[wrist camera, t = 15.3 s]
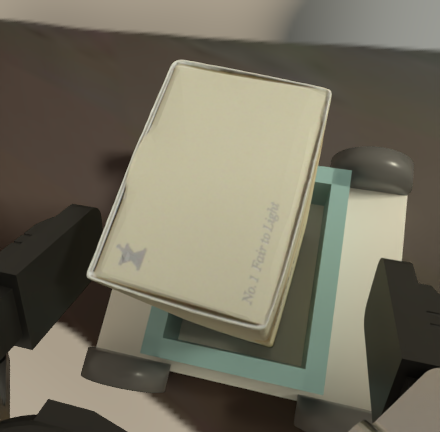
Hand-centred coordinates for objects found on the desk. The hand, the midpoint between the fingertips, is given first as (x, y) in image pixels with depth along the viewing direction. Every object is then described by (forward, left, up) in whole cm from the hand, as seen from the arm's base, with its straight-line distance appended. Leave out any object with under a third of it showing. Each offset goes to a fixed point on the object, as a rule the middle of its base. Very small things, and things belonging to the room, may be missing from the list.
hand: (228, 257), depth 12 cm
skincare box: (0, -1, -9) cm, 10 cm away
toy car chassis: (0, -1, -11) cm, 11 cm away
